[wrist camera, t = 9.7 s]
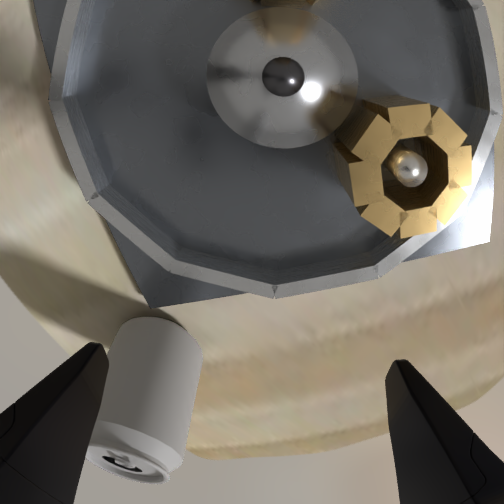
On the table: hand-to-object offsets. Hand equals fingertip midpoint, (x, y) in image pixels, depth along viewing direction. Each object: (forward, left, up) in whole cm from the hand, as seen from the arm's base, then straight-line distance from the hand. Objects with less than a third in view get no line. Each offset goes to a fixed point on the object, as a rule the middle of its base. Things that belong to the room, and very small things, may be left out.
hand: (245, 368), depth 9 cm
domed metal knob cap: (-7, +3, -11) cm, 13 cm away
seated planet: (-2, +8, -11) cm, 14 cm away
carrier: (-7, +3, -12) cm, 14 cm away
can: (+10, -11, -12) cm, 19 cm away
